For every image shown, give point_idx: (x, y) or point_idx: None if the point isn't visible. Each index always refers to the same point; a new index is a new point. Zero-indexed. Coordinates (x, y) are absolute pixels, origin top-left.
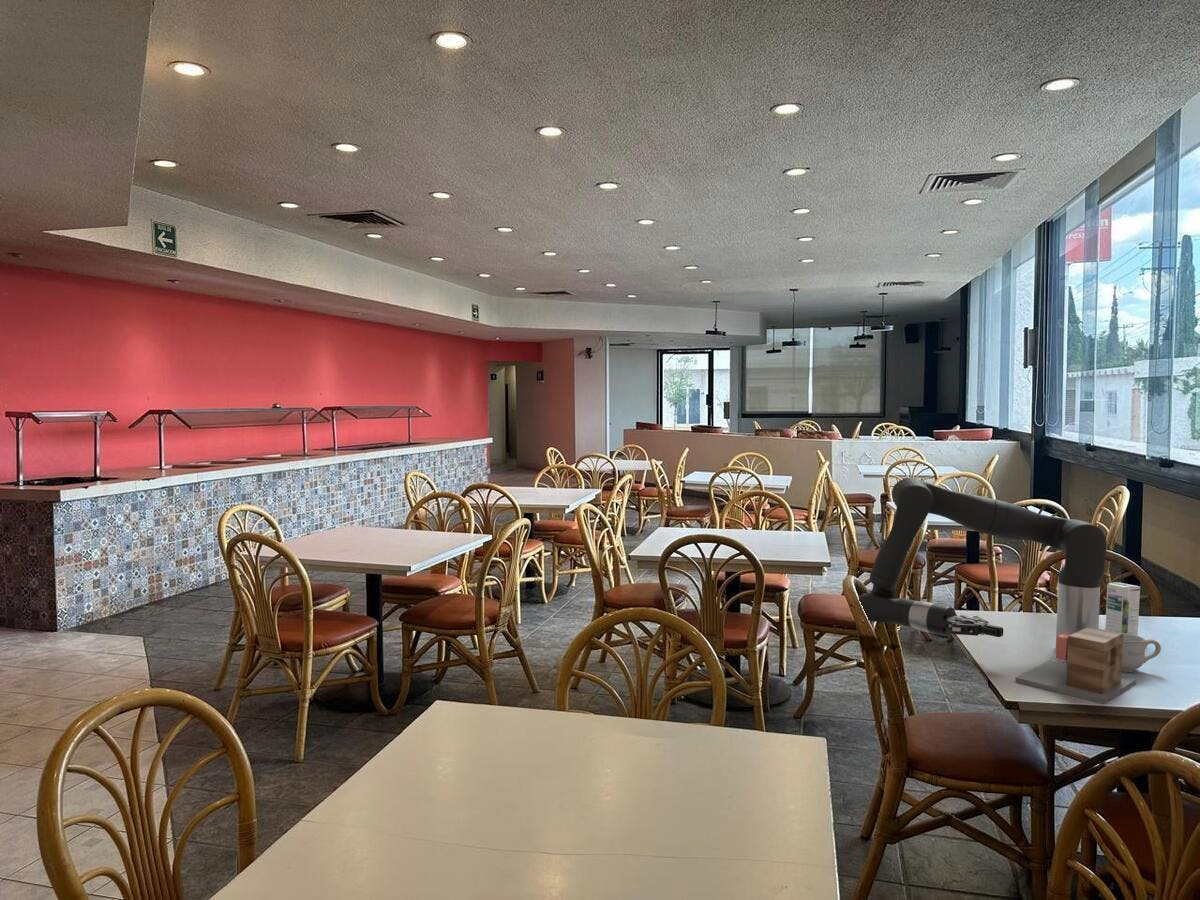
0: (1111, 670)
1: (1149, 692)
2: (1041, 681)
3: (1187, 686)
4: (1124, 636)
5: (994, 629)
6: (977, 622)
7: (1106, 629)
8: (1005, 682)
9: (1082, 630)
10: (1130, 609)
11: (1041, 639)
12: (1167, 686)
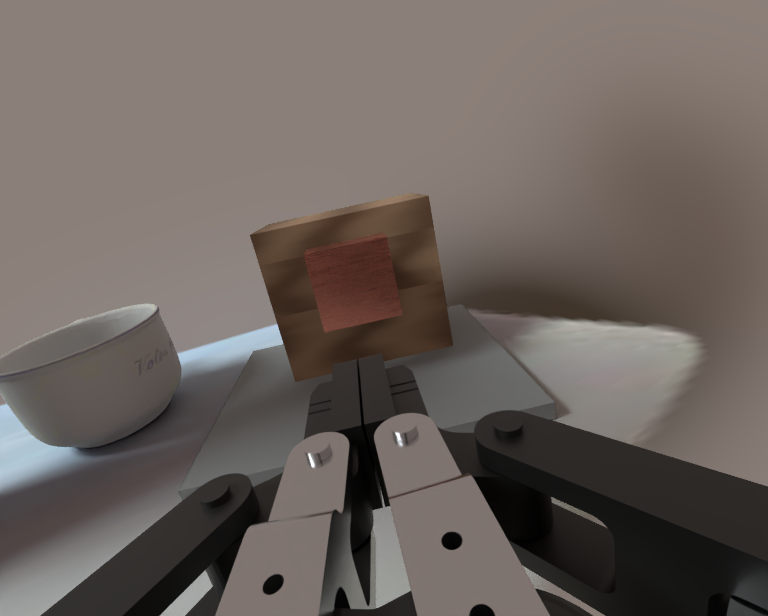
0: None
1: None
2: (492, 367)
3: (208, 345)
4: (13, 361)
5: (407, 374)
6: (342, 518)
7: None
8: (609, 422)
9: (317, 219)
10: None
11: None
12: (232, 348)
